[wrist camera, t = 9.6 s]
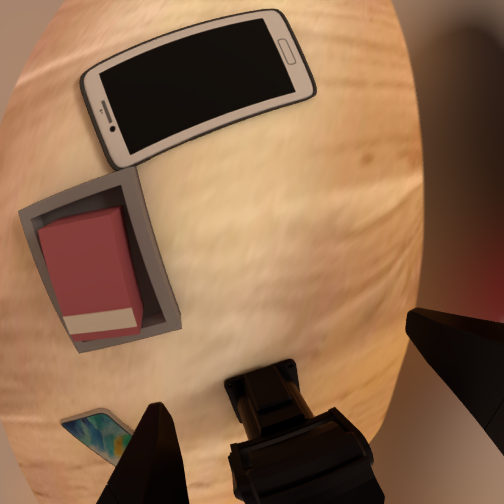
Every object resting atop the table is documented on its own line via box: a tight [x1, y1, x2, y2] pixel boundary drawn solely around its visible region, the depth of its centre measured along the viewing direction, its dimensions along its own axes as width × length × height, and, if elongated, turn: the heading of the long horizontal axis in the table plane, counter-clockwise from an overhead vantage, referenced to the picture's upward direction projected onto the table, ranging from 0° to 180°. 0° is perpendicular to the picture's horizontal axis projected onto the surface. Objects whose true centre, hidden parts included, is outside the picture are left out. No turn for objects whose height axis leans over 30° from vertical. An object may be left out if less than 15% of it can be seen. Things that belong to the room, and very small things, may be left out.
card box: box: [38, 205, 144, 342], centre depth 15 cm, size 7×4×4 cm, turn 4°
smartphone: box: [61, 408, 134, 467], centre depth 23 cm, size 7×1×15 cm
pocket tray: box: [18, 166, 182, 353], centre depth 16 cm, size 11×8×2 cm
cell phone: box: [79, 9, 317, 171], centre depth 15 cm, size 8×15×1 cm, turn 112°
